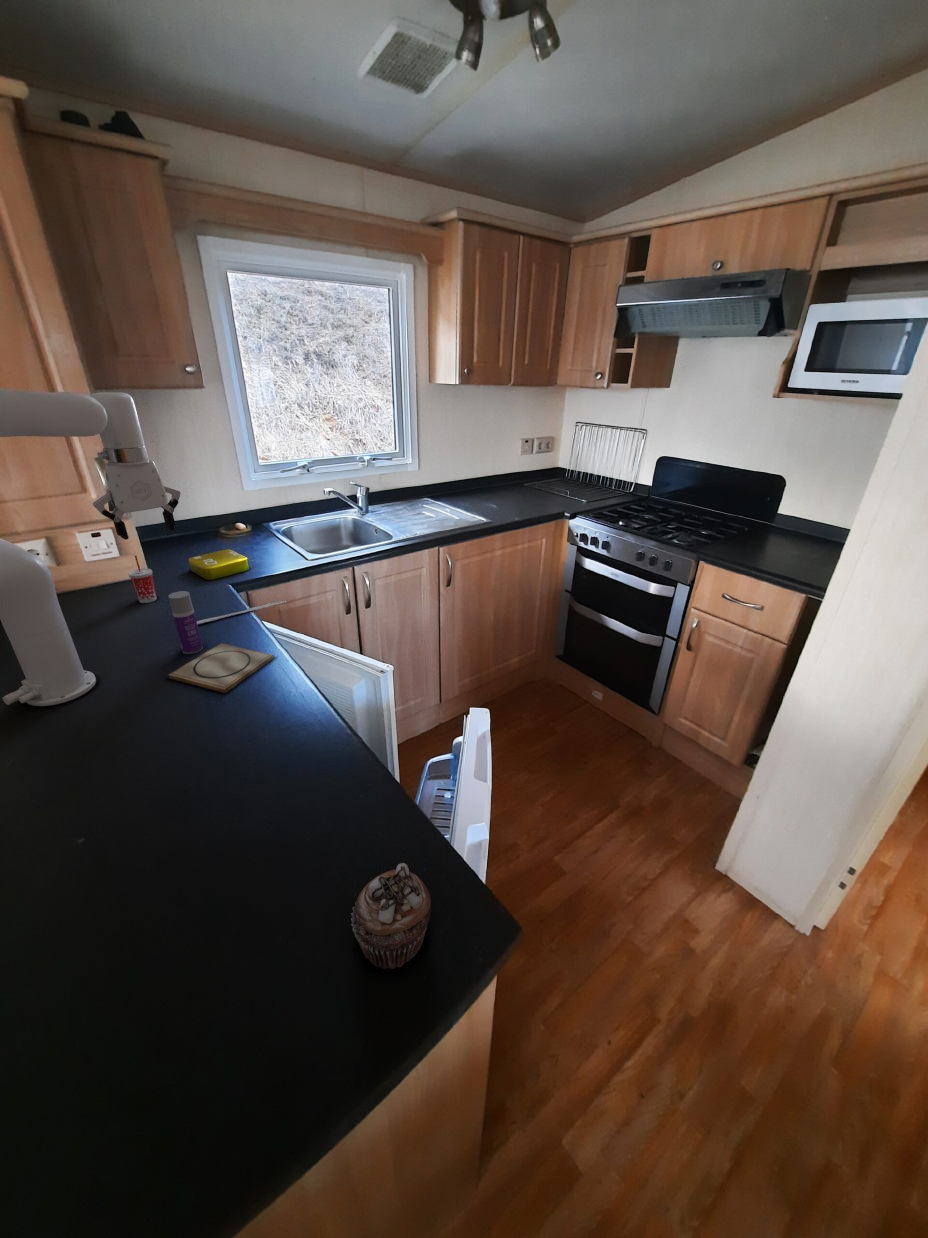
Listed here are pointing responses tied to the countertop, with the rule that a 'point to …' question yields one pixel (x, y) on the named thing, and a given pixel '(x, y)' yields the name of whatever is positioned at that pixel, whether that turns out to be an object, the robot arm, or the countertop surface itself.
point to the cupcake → (392, 917)
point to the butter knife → (237, 612)
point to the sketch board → (221, 667)
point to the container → (185, 622)
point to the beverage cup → (143, 584)
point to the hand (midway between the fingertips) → (148, 533)
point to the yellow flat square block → (218, 564)
